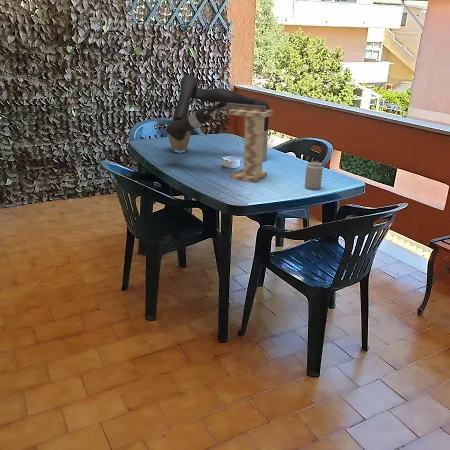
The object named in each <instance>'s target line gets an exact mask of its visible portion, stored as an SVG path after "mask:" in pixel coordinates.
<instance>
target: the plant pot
mask: <svg viewBox="0 0 450 450" xmlns="http://www.w3.org/2000/svg"><path fill="white" fill-rule="evenodd" d="M167 126H168V124H167V125H166V127H167ZM191 132H192V131H189V132H187V131H186V135H185V137H184V139H183V140H181V141H177V140H176V139H174V138H173V137H172V136H171V135H169V134H168V133H167V136H168V140H169V144H170V147H171V149H172V151H173V150H178V151H183V150H186V151H187V149H188V147H189V146H188V145H189V142H190V139H191Z"/></svg>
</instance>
